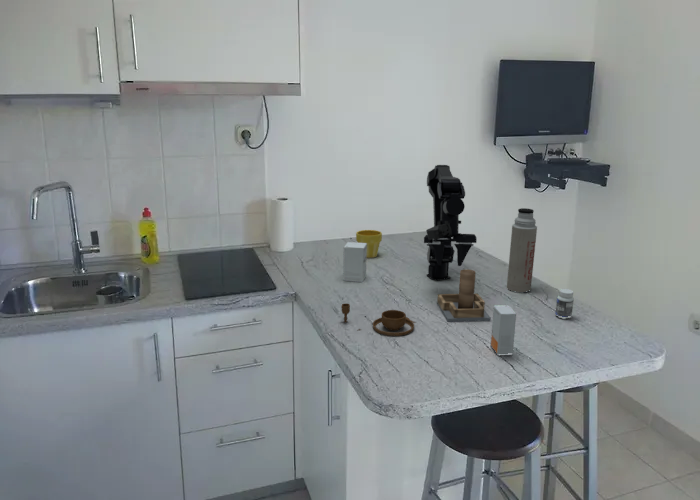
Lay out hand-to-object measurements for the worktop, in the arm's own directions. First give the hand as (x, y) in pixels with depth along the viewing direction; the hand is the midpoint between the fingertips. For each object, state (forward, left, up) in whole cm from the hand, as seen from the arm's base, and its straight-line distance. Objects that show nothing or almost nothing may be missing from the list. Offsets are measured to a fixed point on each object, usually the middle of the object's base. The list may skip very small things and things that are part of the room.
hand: (449, 265), depth 189 cm
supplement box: (+19, -31, -11) cm, 37 cm away
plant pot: (+1, -54, -11) cm, 55 cm away
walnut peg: (+4, +15, -10) cm, 18 cm away
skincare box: (+11, +39, -11) cm, 42 cm away
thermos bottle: (-27, +3, -11) cm, 30 cm away
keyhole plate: (+3, +12, -11) cm, 17 cm away
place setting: (+30, +10, -12) cm, 34 cm away
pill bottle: (-22, +28, -11) cm, 38 cm away
